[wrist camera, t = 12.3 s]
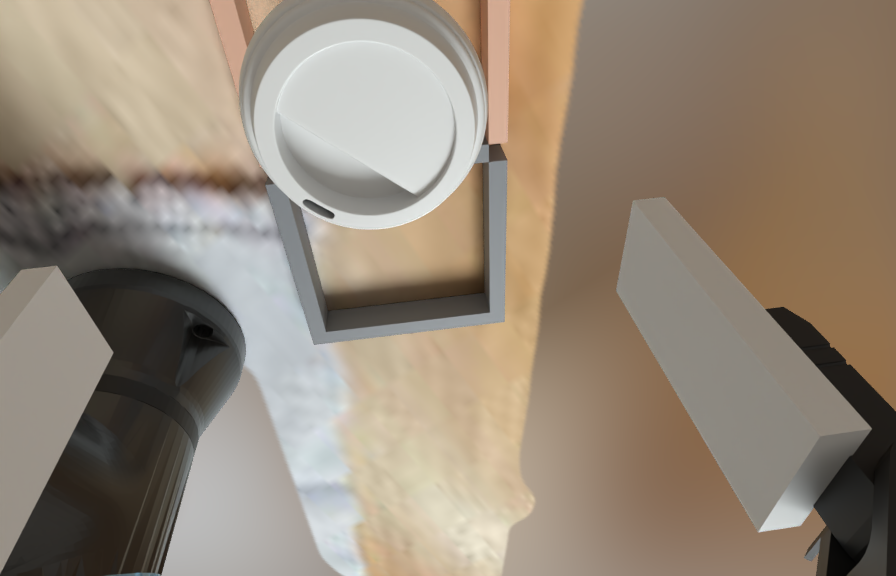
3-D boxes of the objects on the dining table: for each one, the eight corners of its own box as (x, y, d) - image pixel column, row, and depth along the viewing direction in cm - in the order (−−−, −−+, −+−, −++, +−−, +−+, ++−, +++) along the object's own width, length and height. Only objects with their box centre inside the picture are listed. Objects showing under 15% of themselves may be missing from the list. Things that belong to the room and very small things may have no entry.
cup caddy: (498, 302, 45) (504, 321, 43) (316, 323, 44) (313, 344, 42) (502, -149, 26) (512, -150, 24) (185, -127, 25) (170, -126, 24)
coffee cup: (244, 2, 29) (163, 97, 18) (389, -109, 27) (406, -83, 15) (350, 141, 35) (342, 282, 23) (477, 59, 32) (539, 171, 21)
